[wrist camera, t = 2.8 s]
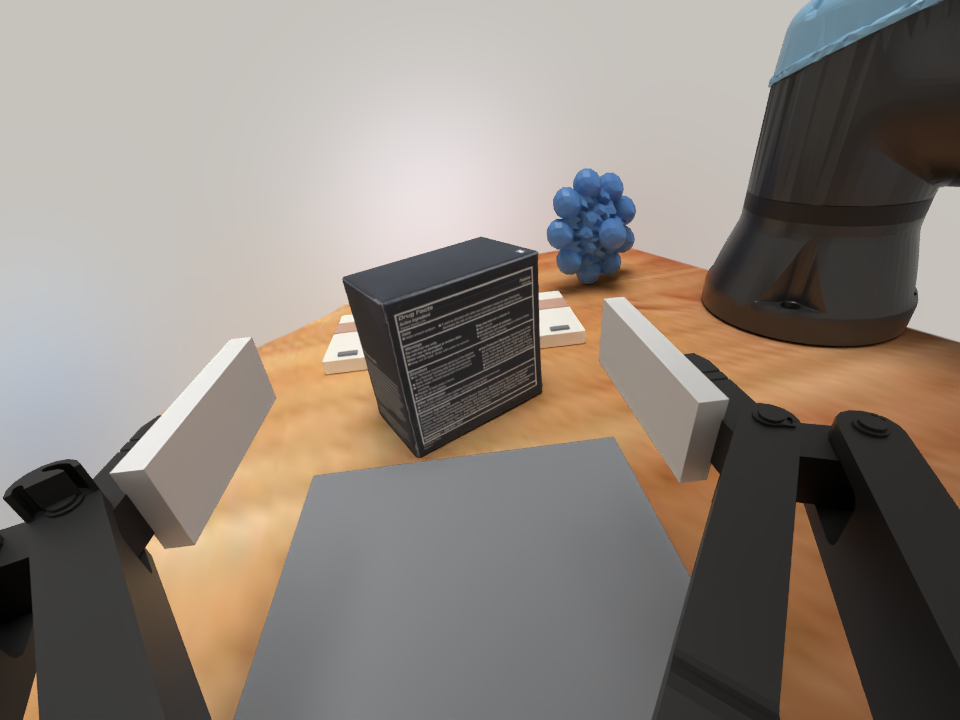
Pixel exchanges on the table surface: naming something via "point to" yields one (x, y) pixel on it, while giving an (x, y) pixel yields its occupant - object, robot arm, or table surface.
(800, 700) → the table surface
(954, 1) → the robot arm
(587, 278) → the blue bumpy cluster
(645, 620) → the mat
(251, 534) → the table surface
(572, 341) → the board
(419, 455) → the small box
